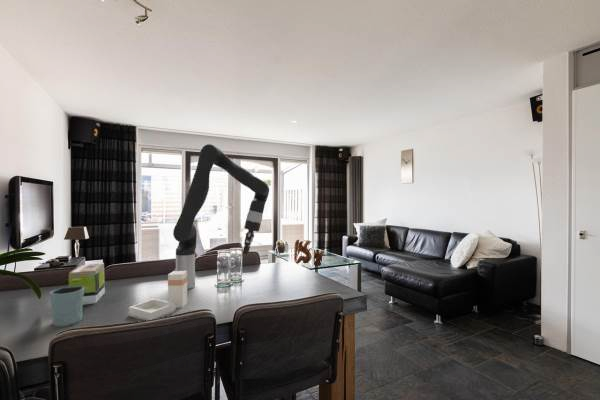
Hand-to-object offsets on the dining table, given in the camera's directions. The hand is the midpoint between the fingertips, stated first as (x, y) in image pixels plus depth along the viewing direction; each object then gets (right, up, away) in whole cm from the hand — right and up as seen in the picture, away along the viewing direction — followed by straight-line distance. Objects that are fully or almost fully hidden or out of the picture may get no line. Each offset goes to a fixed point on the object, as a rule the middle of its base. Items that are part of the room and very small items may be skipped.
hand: (245, 252), depth 145 cm
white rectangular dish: (-32, -19, -28) cm, 47 cm away
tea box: (-69, -19, -11) cm, 73 cm away
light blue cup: (-60, -20, -35) cm, 72 cm away
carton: (-26, -19, -18) cm, 37 cm away
